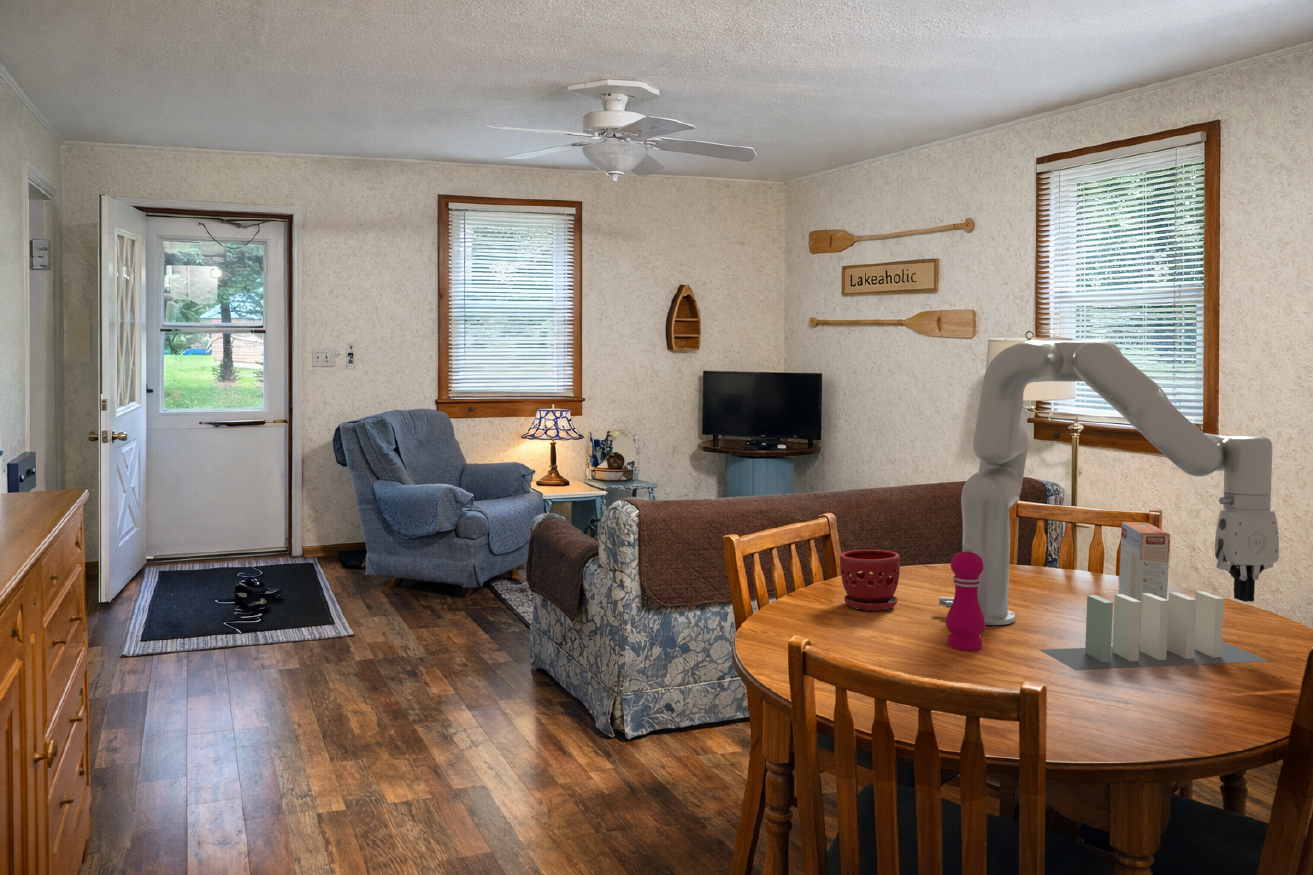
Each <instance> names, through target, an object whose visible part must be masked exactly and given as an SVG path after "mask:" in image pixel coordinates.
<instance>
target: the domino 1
mask: <svg viewBox="0 0 1313 875" xmlns="http://www.w3.org/2000/svg"><path fill="white" fill-rule="evenodd" d="M1140 615H1141V601H1139V600H1136V599H1134V598H1131V597H1129V596H1126V595H1123V594H1119V593H1117V594H1116V593H1115V594H1114V601H1113V622H1112V647H1113V648H1112V652H1113V653H1115V654H1117V655H1119V656H1121V657H1123V658H1125V659H1127V660H1129V661H1139V645H1140Z"/></svg>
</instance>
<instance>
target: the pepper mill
mask: <svg viewBox="0 0 1313 875" xmlns="http://www.w3.org/2000/svg"><path fill="white" fill-rule="evenodd" d="M963 551H964V552H963ZM971 551H972V546H971V545H970V544H965V545H964V546H963V545H962V551H960V552H957V553H956V554H954V555H953V556H952V558H951V562H950V569H951V571H952V573H953V574H954V576H952V578H953V581H952V583H953V584H954V588H955V590H954V596H955V597H954V596H953V598H954V601H953V603H952V606H951V608H950V607H949V610H948V611H947V616H946V618H945V619H946V620H945V627H946V629H947V630H948V631H949V632H950V634H949V635H948V636H947V645H948V646H949V647H950V648H951V649H954V648H955V650H958V649H959V650H958V651H964V650H965V651H967V652H971V651H972V652H973V651H975V652H976V651H980V650H981V649H982V647H983V638H982V637H981V634H982V633H983V632H984V631H985V629H986V625H985V619H984V615H983V613H982V610H981V608H980V605H979V601H978V593H977V591H978V586H980V580H981V579H980V578H979V575H980V574H981V573H982V572H983V568H984V565H983V561H982V559H981V557H980V556H979V555H977V554H976V553H973V552H971Z"/></svg>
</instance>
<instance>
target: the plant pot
mask: <svg viewBox="0 0 1313 875" xmlns="http://www.w3.org/2000/svg"><path fill="white" fill-rule="evenodd" d="M900 556H901V555H900V554H899V553H898V552H895V551H890V550H881V549H855V550H848V551H843V552H842V553H840V555H839V570H840V575H841V582H842V585H843V589H844V591H845V593H846V595H845V596H844V598H843V599H844V602H845V604H847V606H849V607H850V608H853V609H856V608H857V609H862V611H869V610H872V611H873V612H874V611H876V612H877V610H880V611H886V610H887V611H888V610H890V608H891V609H892V608H894V607H895V606H896V605H897V603H898V600H899V599H898V597H897V596H895V593H896V590H897V588H898V584H899V579H900V569H901V558H900ZM858 571H861V572H858ZM857 609H856V610H857ZM872 611H871V612H872Z"/></svg>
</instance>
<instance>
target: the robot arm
mask: <svg viewBox="0 0 1313 875" xmlns="http://www.w3.org/2000/svg"><path fill="white" fill-rule="evenodd" d="M1040 382H1041V383H1042V382H1046V383H1047V382H1068V383H1069V382H1070V383H1071V382H1072V383H1073V382H1077V383H1078V382H1079V383H1080V382H1084V383H1085V384H1086V385H1087V386H1088V387H1089V388H1090V389H1091V390H1093V391H1094V393H1097V395H1099V396H1100V397H1101V398H1102V399H1103V400H1104V401H1105V402H1107V403H1108V404H1109V405H1110V406H1111V407H1112V408H1113V409H1114V410H1115V411H1116V412H1118V413H1119V414H1120V415H1121V416H1122V417H1123V418H1124V419H1125V420H1127V422H1128V423H1129V424H1130V425H1131V426H1132V427H1133V428H1135V430H1137V432H1139V433H1140V434H1141V435H1142V436H1143V437H1144V438H1145V439H1146V440H1147V441H1148V442H1149V443H1150V444H1151V445H1152V446H1154V447H1155V448H1156V449H1157V450H1158V451H1159V452H1160V453H1161V454H1163V455H1164V456H1165V457H1166V458H1167V459H1168V460H1169V461H1171V463H1173V465H1175V467H1177V468H1178V469H1180V470H1181V471H1182V472H1184V473H1186V474H1187V475H1190V476H1193V477H1205V476H1206V477H1207V476H1209V475H1211V474H1214V472H1221V471H1223V474H1224V475H1223V496H1221V497H1219V500H1218V501H1219V504H1220V505H1223V506H1222V507H1223V508H1221V509H1220V512H1219V515H1218V519H1217V523H1216V530H1215V538H1214V557H1215V559H1216V560H1217V563H1216V569H1219V570H1222V571H1226V572H1228V573H1229V574H1230V577H1231V578H1233V598H1234V599H1236V600H1239V601H1240V602H1241V601H1242V602H1243V603H1244V602H1245V603H1248V602H1254V601H1255V592H1256V591H1255V588H1256V585H1255V583H1256V581H1258V579H1259V577H1260V574H1261V573H1262V572H1263V571H1265V570H1267V569H1271V568H1273V567H1274V564H1276V563H1277V562H1278V561H1279V558H1280V539H1279V537H1280V536H1279V526H1278V520H1277V517H1276V511H1275V510H1273V509H1271V506H1272V505H1271V504H1272V501H1271V500H1272V477H1273V476H1272V475H1273V474H1272V473H1273V469H1272V468H1273V442H1272V441H1271V439H1270V438H1269V437H1266V436H1261V435H1260V436H1259V435H1234V436H1233V435H1232V436H1228V435H1220V434H1213V433H1206V432H1203V431H1202V430H1200V428H1198V427H1197V426H1196V425H1195V424H1194V423H1192V421H1190V420H1189V419H1188V418H1187V417H1186V416H1185V415H1183V413H1181V411H1179V410H1178V408H1176V406H1175V405H1174V404H1173V403H1172V402H1171V401H1170V399H1169V398H1168V396H1167V394H1166V393H1165V391H1164V390H1163V389H1162V387H1161V386H1160V385H1159V384H1157V383H1156V382H1155V381H1154V380H1153V379H1151V378H1150V377H1149V376H1148V375H1147V374H1145V373H1144V372H1143V371H1142V370H1141V369H1139V368H1138V367H1137V366H1136V365H1135V364H1133V362H1131V361H1130V360H1129V359H1128V358H1127V357H1126V356H1124V354H1122V351H1121V350H1120V348H1119V347H1118V346H1117V345H1116V344H1115V343H1113V342H1111V341H1109V340H1105V339H1091V340H1085V341H1084V340H1083V341H1081V340H1079V341H1045V340H1044V341H1043V340H1026V341H1021V342H1018V343H1016V344H1013V345H1010V346H1008V347H1006V348H1004V349H1002V350H1001V351H1000V352H998V354H997V355H996V356H994V358H993V359H992V360H991V361H990V362H989V365H988V366H987V368H986V371H985V373H984V376H983V381H982V385H981V386H982V387H981V393H980V398H979V405H978V410H977V417H976V424H975V429H974V433H973V434H974V435H973V441H972V448H973V451H974V454H975V455H976V457H977V458H978V459H979V468H978V471H977V472H975V473H974V474H972V475H970V477H968V479H966V481H965V483H964V485H963V486H962V490H961V497H960V503H961V504H960V505H961V515H962V547H963V546H964V545H965V544H970V545H971V546H972V551H971V552H973V553H976V554H977V555H979V556H980V557H981V559H982V561H983V565H984V568H983V572H982V573H981V574H980V575H979V578H980V579H981V580H980V586H978V591H977V593H978V601H979V605H980V608H981V610H982V613H983V615H984V619H985V626H1002V625H1003V626H1004V625H1005V626H1006V625H1008V624H1013V623H1014V622H1016V614H1015V612H1014V611H1011V610H1009V593H1010V592H1009V588H1010V587H1009V585H1010V582H1009V581H1010V558H1011V557H1010V552H1011V521H1010V508H1011V507H1012V506H1013V505H1015V503H1016V502H1017V501H1018V499H1019V498H1020V495H1021V492H1022V487H1023V482H1024V481H1023V480H1024V474H1025V467H1026V461H1027V455H1028V448H1029V439H1028V438H1029V437H1028V434H1027V431H1026V428H1024V426H1023V424H1021V417H1022V411H1023V406H1024V405H1023V404H1024V392H1025V389H1026V387H1027V385H1029V384H1032V383H1040ZM962 552H964V551H963V550H962ZM954 597H955V595H954V596H953V597H949V596H938V606H943V607H944V606H945V608H949V609H950V608H951V606H952V603H953V601H954Z"/></svg>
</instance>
